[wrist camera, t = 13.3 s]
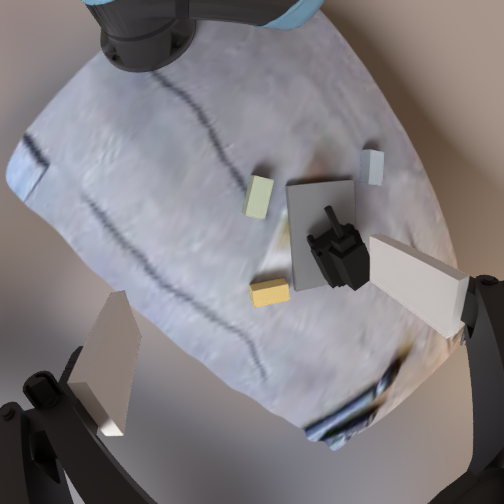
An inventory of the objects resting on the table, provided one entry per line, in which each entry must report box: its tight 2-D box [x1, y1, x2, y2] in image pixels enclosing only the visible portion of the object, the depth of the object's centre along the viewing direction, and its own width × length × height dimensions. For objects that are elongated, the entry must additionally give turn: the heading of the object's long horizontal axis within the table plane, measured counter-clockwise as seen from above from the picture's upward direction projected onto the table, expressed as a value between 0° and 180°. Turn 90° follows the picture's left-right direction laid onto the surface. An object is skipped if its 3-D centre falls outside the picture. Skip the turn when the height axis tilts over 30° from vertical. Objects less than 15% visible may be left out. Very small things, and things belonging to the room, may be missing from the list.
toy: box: [307, 205, 370, 291], centre depth 42 cm, size 8×14×10 cm, turn 30°
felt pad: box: [286, 180, 356, 292], centre depth 48 cm, size 18×12×1 cm, turn 7°
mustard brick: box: [249, 278, 290, 307], centre depth 48 cm, size 6×3×3 cm, turn 97°
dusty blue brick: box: [360, 149, 384, 186], centre depth 45 cm, size 6×3×3 cm, turn 177°
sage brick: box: [242, 175, 274, 219], centre depth 43 cm, size 6×3×3 cm, turn 167°
